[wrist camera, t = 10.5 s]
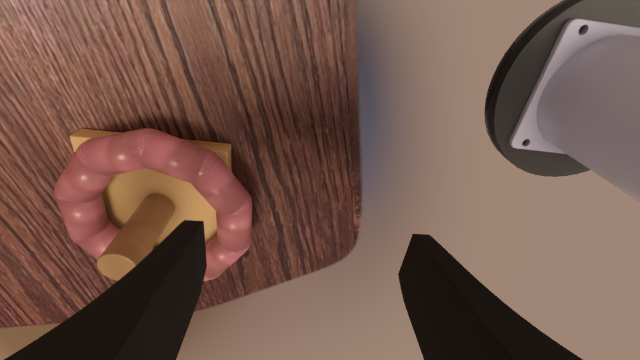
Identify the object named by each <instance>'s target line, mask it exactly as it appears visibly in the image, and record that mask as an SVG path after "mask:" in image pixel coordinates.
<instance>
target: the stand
mask: <svg viewBox="0 0 640 360" xmlns="http://www.w3.org/2000/svg"><path fill="white" fill-rule="evenodd" d="M118 133H120V132H110V131H101V130H91V129H80V130H78V131H77V132H75V133H74V134H72V135H70V140H71V143H72V147H73V150H74V153H75V151H76V150H77V148H78V147H79V146H80V145H81V144H82V143H83V142H84V141H86V140H89V139H92V138H97V137H102V136H108V135H113V134H118ZM183 140H185V141H188V142H191V143H193V144H196V145H199V146H201V147H204V148H207V149H209V150H211V151H213V152H215V153H216V154H217V155H218V156H219V157H220V158H221V160H222V161H223V162H224V163H225V164H226V166H227V167H228V168H229V169H230V171H231V172H232V162H231V144H227V143H218V142H208V141H198V140H188V139H183ZM102 197H103V200H104V204H105V208H106V211H107V215H108V219H109V220H110V221H111V222H112V223H113V224H114V225H116V226H117V227H118V228H119V229H120V231H119V232H118V234H117V235H116V236H115V238H114V239H113V240H112V242H111V243H110V244H109V245H108V247H107V248H106V249H105V251H104V252H103V253H102V255H101V256H100V257H99V258H98V260H97V267H98V269H99V271H100V272H101V273H102V274H103V275H105V276H106V277H108V278H110V279H113V280H117V281H118V280H120V279H121V278H122V277H123V276H124V275H126V274H127V273H128V272H129V271H130V270H132V269H133V268H134V267H135V266H136V265H137V264H138V263H139V262H140V261H142V260H143V259H144V258H145V257H146V256H147V255H148V254H149V253H150V252H151V251H152V249H153V248H154V249H155V248H156V247H157V246H158V245H159V244H160V243H161V242H162V241H163V240H164V239H165V238H166V237H167V236H168V235H169V234H170V233H171V232H172V231H173V230H174V229H175V228H176V227H177V226H178V225H179V224H180V223H181V222H182V221H184V220H193V221H204V233H205V246H206V245H207V244H208V243H209V242H210V241H211V240H212V239H213V238H214V237H215V236H216V235H217V220H216V211H215V209H214V208H213V207H212V206H211V205H210V204H209V203H208V202H207V201H206V200H205V198H204V197H203V196H202V195H201V194H200V193H199V192H198V191H197V190H196V189H195V188H194V186H193V185H192V184H191V183H188V182H185V181H182V180H179V179H176V178H174V177H171V176H168V175H165V174H162V173H159V172H156V171H153V170H151V169H143V170H138V171H133V172H127V173H122V174H116V175H114V176H113V178H112V179H111V181H110V182H109V183H108V185H107V186H106V188H105V189H104V190H103V192H102Z"/></svg>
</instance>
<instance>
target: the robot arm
mask: <svg viewBox="0 0 640 360" xmlns="http://www.w3.org/2000/svg"><path fill="white" fill-rule="evenodd" d="M581 26H583V30H582V31H581V32H580V33H579V32H578V31H579V29H580V27H581ZM526 139H527V141H526V142H525V143H523V144H522V142H523V141H524V140H526ZM509 144H510V145H511V146H512V147H513V148H517V149H526V150H535V151H544V152H553V153H562V154H567V155H569V156H570V157H572V158H573V159H575V160H576V161H578V162H579V163H581V164H583V165H584V166H586V167H587V168H589V169H590V170H592V171H593V172H595V173H596V174H598V175H599V176H601V177H602V178H604V179H605V180H607V181H608V182H610V183H611V184H613V185H615V186H616V187H618V188H619V189H621V190H622V191H624V192H625V193H627V194H628V195H630V196H631V197H633V198H635V199H636V200H637V201H639V202H640V28H637V27H630V26H623V25H617V24H610V23H604V22H597V21H591V20H584V19H577V18H573V19H570V20H568V21H567V22H566V23H565V24H564V26H563V28H562V30H561V32H560V34H559V36H558V38H557V40H556V42H555V44H554V47H553V49H552V51H551V53H550V55H549V57H548V59H547V61H546V63H545V66H544V68H543V70H542V72H541V74H540V76H539V78H538V80H537V82H536V84H535V87H534V89H533V91H532V93H531V95H530V97H529V99H528V101H527V103H526V106H525V108H524V110H523V112H522V114H521V116H520V118H519V120H518V122H517V124H516V127H515V129H514V131H513V133H512V135H511V137H510V139H509ZM206 268H207V260H206V247H205V233H204V221H193V220H184V221H182V222H181V223H180V224H179V225H178V226H177V227H176V228H175V229H174V230H173V231H172V232H171V233H170V234H169V235H168V236H167V237H166V238H165V239H164V240H163V241H162V242H161V243H160V244H159V245H158V246H157V247H156V248H155V249H154V250H152V251H151V252H150V253H149V254H148V255H147V256H146V257H145V258H144V259H143V260H142V261H140V262H139V263H138V264H137V265H136V266H135V267H134V268H133V269H132V270H130V271H129V272H128V273H127V274H126V275H124V276H123V277H122V278H121V279H120V280H118V281H117V282H116V283H115V284H114V285H112V286H111V287H110V288H109V289H108V290H106V291H105V292H104V293H102V294H101V295H100V296H99V297H97V298H96V299H95V300H93V301H92V302H91V303H89V304H88V305H87V306H85V307H84V308H83V309H81V310H80V311H78V312H77V313H76V314H74V315H73V316H71V317H70V318H69V319H67V320H66V321H64V322H63V323H61V324H60V325H58V326H57V327H55V328H54V329H52V330H51V331H49V332H47V333H46V334H44V335H43V336H41V337H40V338H38V339H37V340H35V341H34V342H32V343H31V344H29V345H28V346H26V347H24V348H23V349H21V350H19V351H18V352H16V353H14V354H13V355H11V356H10V357H8V358H6V359H4V360H176V358H177V355H178V352H179V350H180V347H181V344H182V342H183V339H184V336H185V333H186V331H187V328H188V326H189V323H190V320H191V317H192V315H193V312H194V310H195V307H196V304H197V301H198V299H199V296H200V292H201V288H202V285H203V280H204V276H205V272H206ZM398 275H399V281H400V286H401V290H402V295H403V299H404V303H405V306H406V309H407V312H408V315H409V318H410V321H411V324H412V326H413V329H414V332H415V335H416V338H417V341H418V343H419V346H420V349H421V352H422V355H423V358H424V360H582V359H581V358H579V357H578V356H576V355H575V354H573V353H572V352H570V351H569V350H567V349H566V348H564V347H563V346H561V345H560V344H558V343H557V342H555V341H554V340H552V339H551V338H550V337H548V336H547V335H545V334H544V333H543V332H541V331H540V330H538V329H537V328H536V327H534V326H533V325H532V324H530V323H529V322H528V321H526V320H525V319H524V318H522V317H521V316H520V315H518V314H517V313H516V312H515V311H513V310H512V309H511V308H510V307H508V306H507V305H506V304H504V302H502V301H501V300H500V299H499V298H498V297H497V296H495V295H494V294H493V293H492V292H491V291H489V290H488V289H487V288H486V287H485V286H484V285H482V283H480V282H479V281H478V280H477V279H476V278H475V277H474V276H473V275H472V274H470V272H468V271H467V270H466V269H465V268H464V267H463V266H462V265H461V264H460V263H459V262H458V261H457V260H456V259H455V258H453V256H452V255H451V254H449V253H448V252H447V251H446V250H445V249H444V248H443V247H442V246H441V245H440V244H439V243H438V242H437V241H436V240H435V239H433V238H432V237H431V236H430V235H422V234H413V235H412V238H411V241H410V244H409V246H408V249H407V252H406V255H405V257H404V260H403V263H402V266H401V269H400V271H399V274H398Z"/></svg>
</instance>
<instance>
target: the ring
mask: <svg viewBox="0 0 640 360" xmlns="http://www.w3.org/2000/svg"><path fill="white" fill-rule="evenodd" d="M143 169H151V170H153V171H156V172H159V173H162V174H165V175H168V176H171V177H174V178H176V179H179V180H182V181H185V182H188V183H191V184H192V185H193V186H194V188H195V189H196V190H197V191H198V192H199V193H200V194H201V195H202V196H203V197H204V198H205V200H206V201H207V202H208V203H209V204H210V205H211V206H212V207H213V208H214V209H215V211H216V220H217V235H216V236H215V237H214V238H213V239H212V240H211V241H210V242H209V243H208V244H207V245H206V246H205V247H206V260H207V268H206V272H205V276H204V280H203V281H206V280H212V279H215V278H217V277H219V276H220V275H221V274H222V273H223V272H224V271H225V270H226V269H228V268H229V267H230V266H231V265H232V264H233V263H234V262H235V261H236V260H237V259H239V258H240V257H241V256H242V255H243V254H244V253H245V252H246V251H247V250H248V249H249V247H250V245H251V238H252V199H251V196H250V194H249V193H248V192H247V190H246V189H245V188H244V187H243V185H242V184H241V183H240V182H239V181H238V179H237V178H236V177H235V176H234V174H233V173H232V172H231V171H230V169H229V168H228V167H227V166H226V164H225V163H224V162H223V161H222V160H221V158H220V157H219V156H218V155H217V154H216V153H215V152H213V151H211V150H209V149H207V148H204V147H201V146H199V145H196V144H193V143H191V142H188V141H185V140H183V139H180V138H178V137H175V136H172V135H170V134H167V133H164V132H162V131H159V130H156V129H152V128H143V129H138V130H133V131H128V132H123V133H118V134H113V135H108V136H102V137H97V138H92V139H89V140H86V141H84V142H83V143H82V144H81V145H80V146H79V147H78V148H77V150H76V151H75V153H74V155H73V156H72V158H71V160H70V161H69V163H68V164H67V166H66V168H65V169H64V171H63V173H62V174H61V176H60V177H59V179H58V181H57V182H56V184H55V187H54V195H55V198H56V201H57V203H58V206H59V209H60V211H61V214H62V217H63V220H64V222H65V225H66V228H67V231H68V233H69V236H70V238H71V239H72V240H73V241H74V242H75V243H76V244H77V245H79V246H80V247H81V248H83V249H84V250H85V251H86V252H88V253H89V254H90V255H92V256H93V257H94V258H96V259H97V260H98V258H99V257H100V256H101V255H102V253H103V252H104V251H105V249H106V248H107V247H108V245H109V244H110V243H111V242H112V240H113V239H114V238H115V236H116V235H117V234H118V232H119V231H120V229H119V228H118V227H117V226H116V225H114V224H113V223H112V222H111V221H110V220H109V219H108V215H107V211H106V208H105V204H104V200H103V197H102V192H103V190H104V189H105V188H106V186H107V185H108V183H109V182H110V181H111V179H112V178H113V176H114V175H116V174H122V173H127V172H133V171H138V170H143ZM152 250H154V248H153V249H152Z"/></svg>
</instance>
